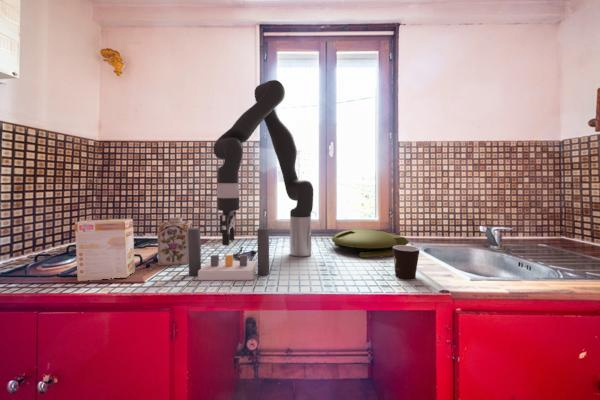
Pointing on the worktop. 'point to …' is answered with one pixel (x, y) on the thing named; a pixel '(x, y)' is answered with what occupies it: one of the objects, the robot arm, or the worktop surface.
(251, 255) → the sunglasses
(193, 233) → the post
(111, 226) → the coffeecake box
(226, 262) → the middle paddle
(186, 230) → the decorative jar
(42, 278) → the worktop surface
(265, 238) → the post
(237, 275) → the switch panel
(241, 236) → the worktop surface
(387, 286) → the worktop surface
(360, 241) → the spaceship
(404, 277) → the coffee mug
